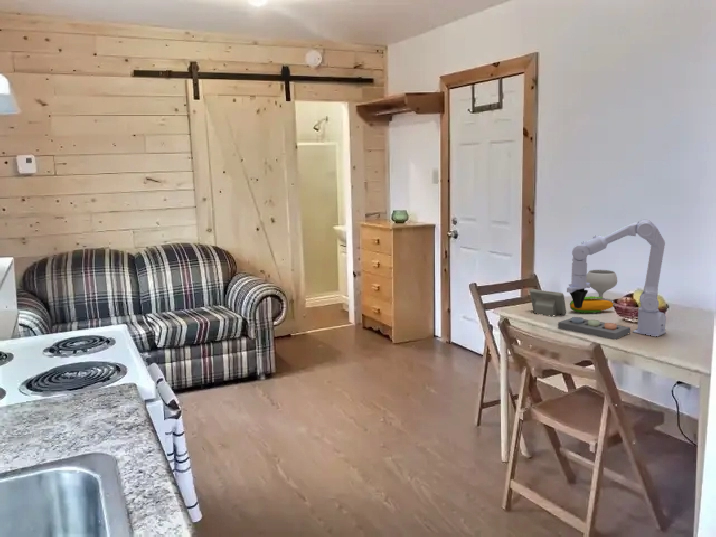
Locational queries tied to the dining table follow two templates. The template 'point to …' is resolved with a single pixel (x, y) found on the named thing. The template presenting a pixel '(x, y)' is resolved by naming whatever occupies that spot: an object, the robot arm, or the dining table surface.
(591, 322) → the button sage
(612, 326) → the button terracotta
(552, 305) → the digital clock
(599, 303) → the corn
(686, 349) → the dining table surface
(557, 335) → the dining table surface
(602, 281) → the chalice
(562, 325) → the button panel
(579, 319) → the button slate
